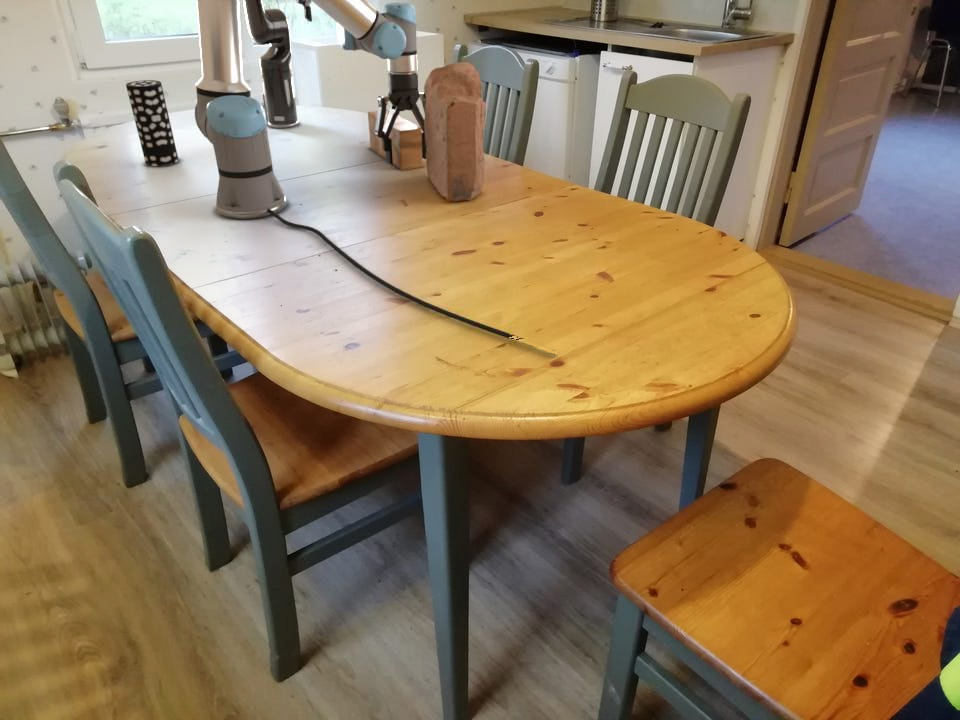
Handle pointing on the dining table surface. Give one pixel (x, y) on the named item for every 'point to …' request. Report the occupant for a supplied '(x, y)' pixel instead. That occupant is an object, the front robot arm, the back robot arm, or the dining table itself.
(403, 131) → the box
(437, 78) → the stone
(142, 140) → the black white spotted cylinder
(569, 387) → the dining table surface
